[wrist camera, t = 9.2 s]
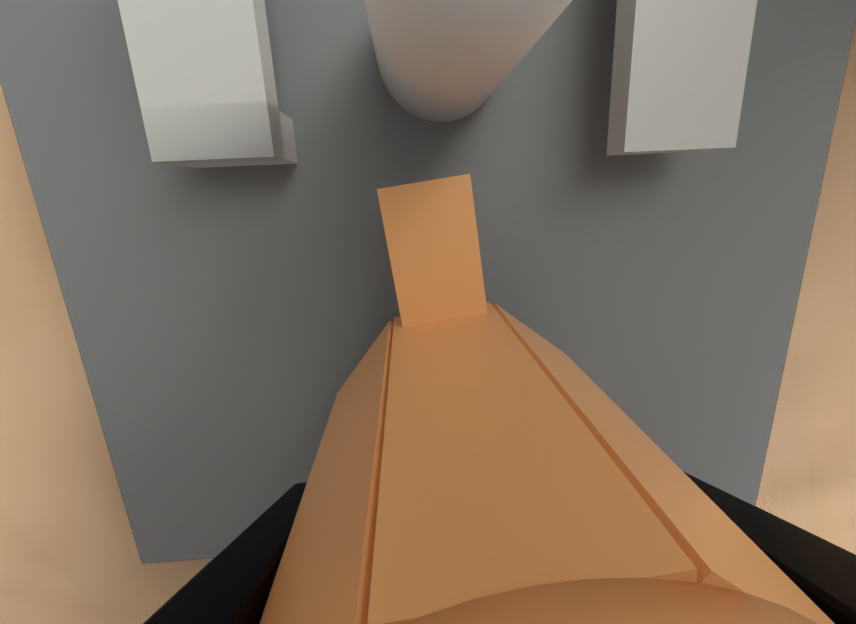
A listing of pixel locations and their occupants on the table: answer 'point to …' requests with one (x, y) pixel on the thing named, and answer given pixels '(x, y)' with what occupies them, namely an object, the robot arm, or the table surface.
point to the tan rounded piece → (500, 475)
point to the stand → (404, 164)
